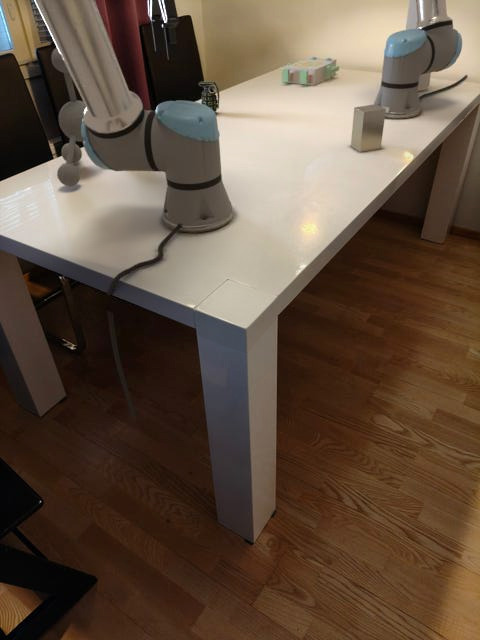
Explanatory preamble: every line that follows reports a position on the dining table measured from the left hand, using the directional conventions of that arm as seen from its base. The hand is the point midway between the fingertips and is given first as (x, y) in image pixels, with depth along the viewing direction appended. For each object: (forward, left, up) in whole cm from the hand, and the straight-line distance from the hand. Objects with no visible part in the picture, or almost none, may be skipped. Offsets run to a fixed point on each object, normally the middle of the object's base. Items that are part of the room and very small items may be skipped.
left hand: (167, 55), depth 117 cm
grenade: (+46, +18, -27) cm, 57 cm away
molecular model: (-12, +19, -27) cm, 35 cm away
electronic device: (+98, -39, -27) cm, 109 cm away
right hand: (+61, -77, +4) cm, 98 cm away
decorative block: (+104, +4, -27) cm, 108 cm away
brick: (+31, -42, -27) cm, 59 cm away
